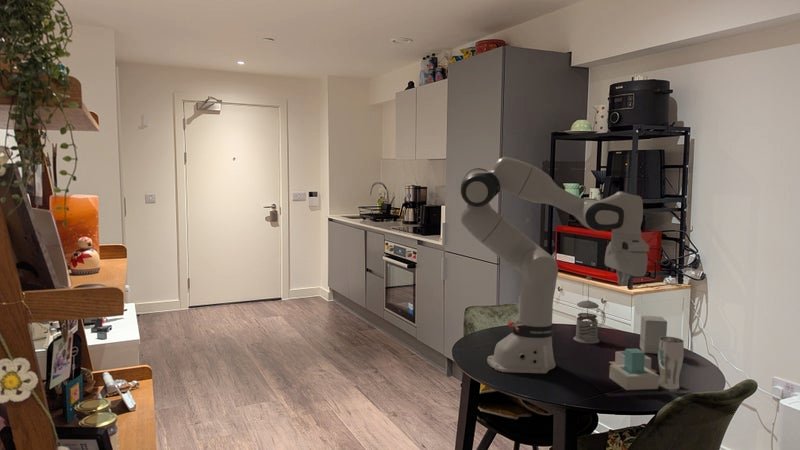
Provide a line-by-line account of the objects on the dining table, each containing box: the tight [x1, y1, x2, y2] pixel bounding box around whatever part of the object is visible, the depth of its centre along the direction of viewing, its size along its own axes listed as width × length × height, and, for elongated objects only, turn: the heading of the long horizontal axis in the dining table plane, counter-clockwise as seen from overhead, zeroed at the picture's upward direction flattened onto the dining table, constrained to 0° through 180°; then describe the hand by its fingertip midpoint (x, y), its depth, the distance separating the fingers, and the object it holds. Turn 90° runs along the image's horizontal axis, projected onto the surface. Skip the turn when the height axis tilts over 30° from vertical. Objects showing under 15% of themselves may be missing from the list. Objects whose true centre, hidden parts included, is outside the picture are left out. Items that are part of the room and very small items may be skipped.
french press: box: [573, 276, 606, 344], centre depth 215 cm, size 10×12×25 cm
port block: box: [608, 364, 660, 394], centre depth 169 cm, size 10×10×5 cm
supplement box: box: [639, 315, 668, 355], centre depth 201 cm, size 7×7×13 cm
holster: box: [608, 350, 658, 373], centre depth 184 cm, size 11×11×5 cm
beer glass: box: [657, 336, 685, 393], centre depth 167 cm, size 7×7×15 cm
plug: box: [624, 348, 646, 374], centre depth 168 cm, size 4×4×10 cm
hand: (622, 285), depth 179 cm, fingers closed
